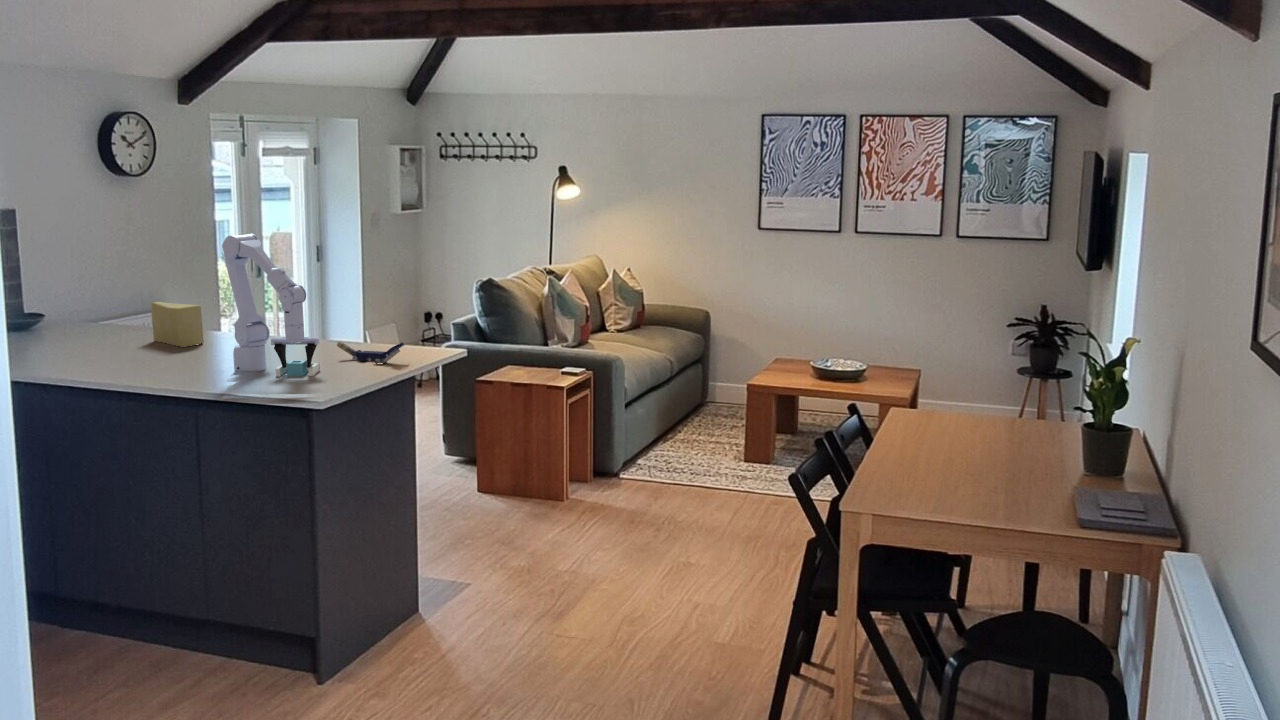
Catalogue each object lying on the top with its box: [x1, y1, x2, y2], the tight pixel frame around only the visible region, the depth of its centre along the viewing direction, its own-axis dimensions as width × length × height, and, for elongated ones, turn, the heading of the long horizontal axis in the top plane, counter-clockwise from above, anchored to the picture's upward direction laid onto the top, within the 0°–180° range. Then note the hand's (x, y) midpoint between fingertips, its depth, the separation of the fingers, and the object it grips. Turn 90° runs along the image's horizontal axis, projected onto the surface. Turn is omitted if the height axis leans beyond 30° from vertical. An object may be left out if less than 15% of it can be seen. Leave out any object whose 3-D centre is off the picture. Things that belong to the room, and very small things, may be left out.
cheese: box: [150, 301, 205, 348], centre depth 418 cm, size 22×10×15 cm, turn 58°
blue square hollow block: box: [286, 359, 308, 377], centre depth 357 cm, size 5×5×4 cm
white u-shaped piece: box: [275, 362, 321, 378], centre depth 358 cm, size 11×9×2 cm
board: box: [264, 379, 323, 383], centre depth 360 cm, size 17×28×4 cm, turn 2°
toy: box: [336, 340, 405, 364], centre depth 380 cm, size 10×22×10 cm, turn 78°
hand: (296, 367), depth 357 cm, fingers open, 7 cm apart
